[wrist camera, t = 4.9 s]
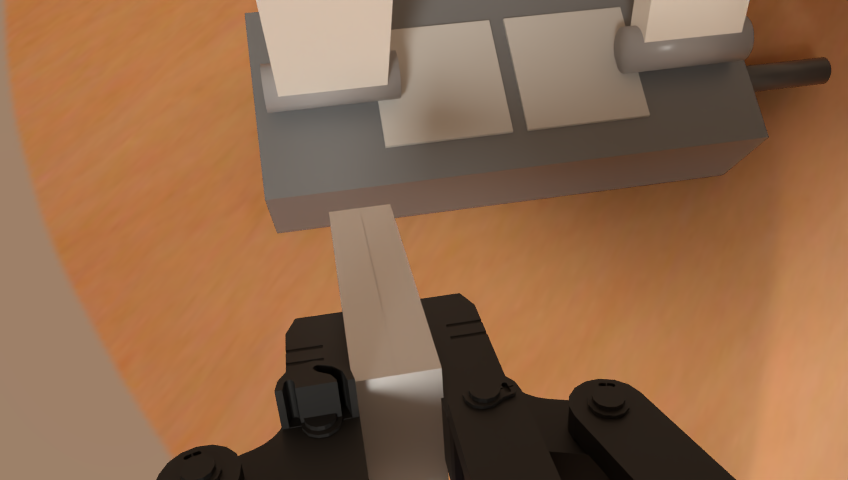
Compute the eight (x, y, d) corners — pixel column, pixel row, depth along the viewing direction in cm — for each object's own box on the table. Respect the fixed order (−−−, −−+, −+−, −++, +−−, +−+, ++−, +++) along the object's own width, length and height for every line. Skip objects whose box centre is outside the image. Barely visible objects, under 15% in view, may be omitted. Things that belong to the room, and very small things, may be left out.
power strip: (782, 11, 36) (833, -45, 32) (834, 160, 34) (895, 119, 30) (258, 65, 33) (243, 11, 29) (277, 233, 31) (264, 198, 27)
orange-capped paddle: (393, 65, 29) (410, -181, 18) (400, 106, 29) (422, -122, 18) (265, 79, 29) (202, -167, 17) (269, 121, 28) (208, -106, 17)
